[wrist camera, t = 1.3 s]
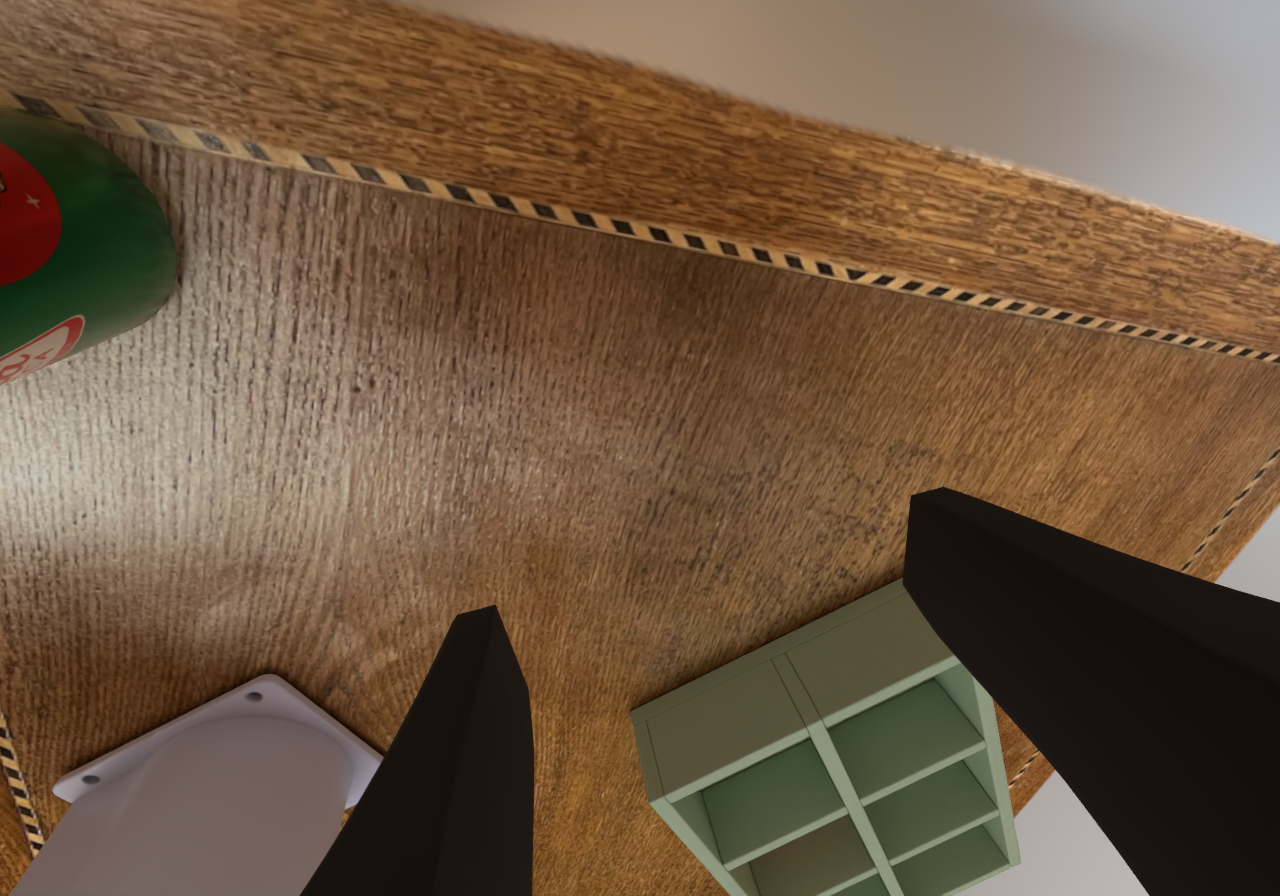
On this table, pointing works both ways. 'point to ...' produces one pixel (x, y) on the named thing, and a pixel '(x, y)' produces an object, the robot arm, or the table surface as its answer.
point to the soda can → (72, 244)
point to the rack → (835, 762)
